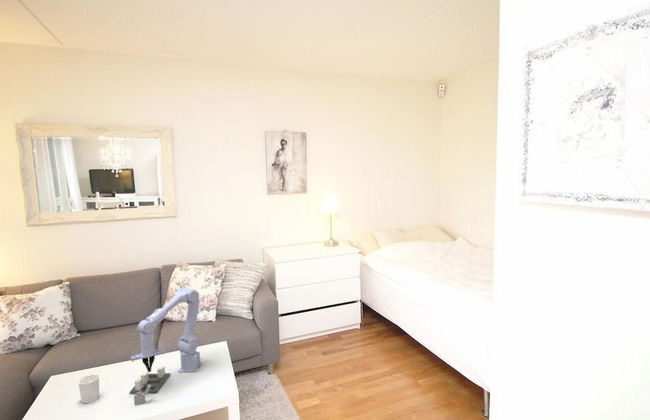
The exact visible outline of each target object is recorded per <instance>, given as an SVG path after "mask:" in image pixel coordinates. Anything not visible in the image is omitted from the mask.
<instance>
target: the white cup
mask: <svg viewBox="0 0 650 420" xmlns="http://www.w3.org/2000/svg"><path fill="white" fill-rule="evenodd" d="M78 388H79V393H80V399H81V402H82V403H83V404H89V403H90V404H91V403H93V402H95V401H96V400H97V399H99V397H100V375H99V374H96V373H93V374H89V375H86V376H84V377H82V378H80V379H79V380H78Z"/></svg>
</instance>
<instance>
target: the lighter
mask: <svg viewBox="0 0 650 420" xmlns="http://www.w3.org/2000/svg"><path fill="white" fill-rule="evenodd" d="M150 387H151V385H149V384H148V386H147V388H146V391H145V393H142V391H141V392H137V393H136V394H133V402H134V406H137V405H143V404H146V403H145V402H146V396H147V395H149V394H148V391H149V389H150Z"/></svg>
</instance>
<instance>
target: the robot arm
mask: <svg viewBox="0 0 650 420" xmlns="http://www.w3.org/2000/svg"><path fill="white" fill-rule="evenodd" d="M181 303H183V304H184V303H186V304H187V305H188V306H187V312H186V317H185V323H184V329H183V334H182V335H181V336H180V337H179V340H178V342H177V345H176V346H177V347H176V348H177V350H178V351H179V353H180V368H179V369H178V373H184V372H186V373H187V372H196V371H197V370H198V369H199V368H200V366H201V365H202V364H201V353H200V352H199V351H198V350H197V349H198V344H197V342H198V339H197V337H196V335H195V334H196V333H195V331H196V325H197V320H198V316H199V315H198V313H199V308H200V293H199V292H198V291H197V290H196V289H191V288H187V287H181V288H180V289H179V290H177V291H176V292H175V295H173V297H172V298H171V299H170V300H169V301H168V302H167V303H165V305H164V306H163V307H161V308H159V307H158V308H157V309H155V310H153V313H151V314H150V315H149V316H147V317H146V318H145V319H142V320H141V321H140V322H139V323H138V325H137V327H136V330H137V331H138V332H139V336H140V337H139V338H140V339H139V340H140V349H141V350H140V351H141V352H140V353H138V354H135V355H131V358H130V361H131V362H135V361H137V360H141V362H142V363H143V364H144V366H145V368H146V370H147V372H148V373H151V372H152V366H153V365H154V361H155V359H156V356H159V355H165V354H166V349H165V348H161V349H156V348H155V335H154V331H155V330H156V328H157V326H158V324H160V323H161V322H162V321H164V320H165V318H166V317H167V315H168V313H169V312H170V311H171V310H172V309H174V308H175V307H176V306H177V305H179V304H181Z"/></svg>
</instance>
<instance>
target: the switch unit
mask: <svg viewBox="0 0 650 420" xmlns="http://www.w3.org/2000/svg"><path fill="white" fill-rule="evenodd" d="M148 376H149V380H148V382H147V383H146V384H143V385H144V386H143V388H142V389H141V390H135V385H134V386H133V387H132V389H130V391H129V395H135V394H136V393H137V392H141V391H142V393H145V391H146V388H147V386H148V384H149V385H151V387H150V389H149V391H148V394H147V395H149V394H150V395H151V394H158V392H159V391H161V389H162V387H164V385H165V383H166V382H167V380H168V379H169V378H170V377H171V373H170V372H165V375H164V376H163V377H161V378H158V373H148Z"/></svg>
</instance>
